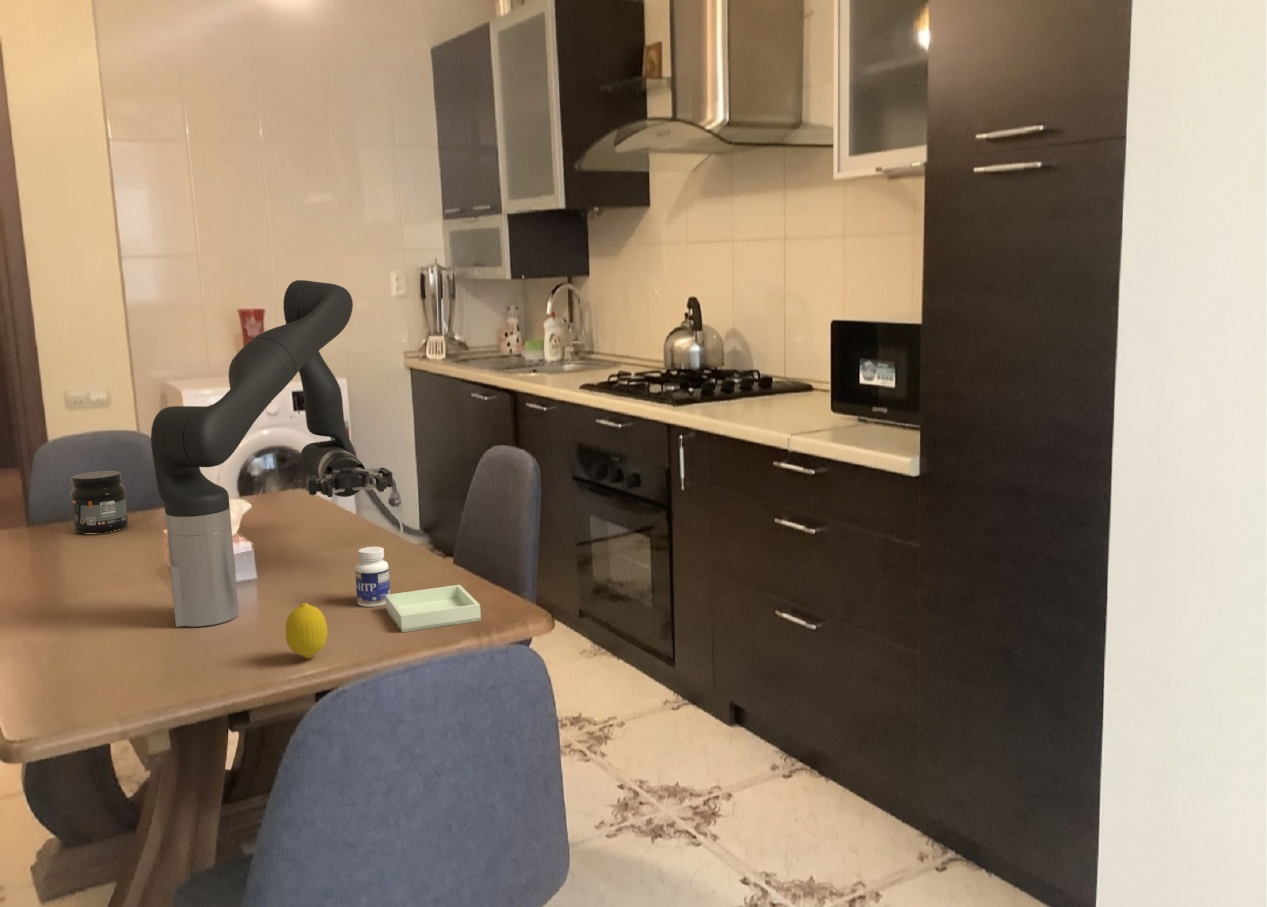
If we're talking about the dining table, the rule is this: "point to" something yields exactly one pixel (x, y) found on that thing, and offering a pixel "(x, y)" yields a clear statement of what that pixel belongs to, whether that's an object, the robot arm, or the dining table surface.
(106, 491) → the supplement container
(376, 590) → the pill bottle
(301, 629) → the lemon
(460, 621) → the tray
